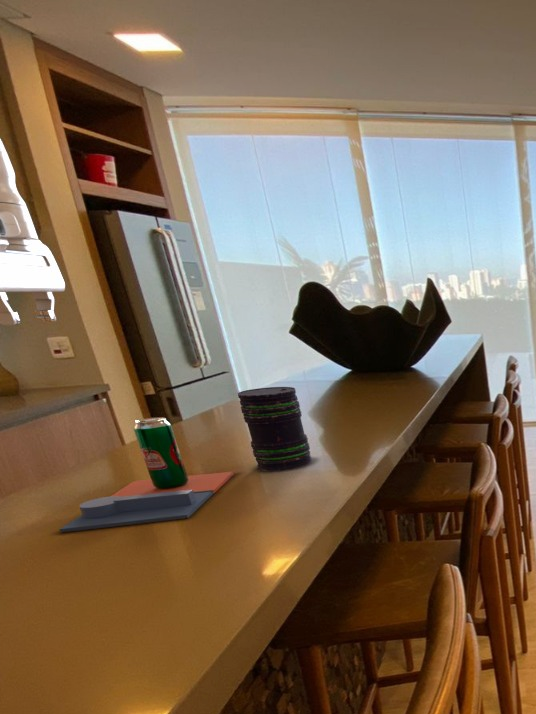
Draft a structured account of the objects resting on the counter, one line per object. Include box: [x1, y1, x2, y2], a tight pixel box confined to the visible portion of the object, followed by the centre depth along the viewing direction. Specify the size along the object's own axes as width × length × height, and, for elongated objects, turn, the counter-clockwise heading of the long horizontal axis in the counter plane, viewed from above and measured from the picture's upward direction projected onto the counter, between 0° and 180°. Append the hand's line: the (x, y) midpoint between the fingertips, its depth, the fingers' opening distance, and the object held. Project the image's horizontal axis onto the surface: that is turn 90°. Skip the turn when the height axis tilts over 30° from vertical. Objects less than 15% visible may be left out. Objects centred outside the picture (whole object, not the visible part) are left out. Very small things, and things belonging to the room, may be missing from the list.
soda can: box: [132, 416, 189, 489], centre depth 100 cm, size 5×5×12 cm
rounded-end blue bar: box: [78, 490, 196, 518], centre depth 91 cm, size 15×5×2 cm, turn 109°
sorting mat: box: [59, 471, 235, 534], centre depth 97 cm, size 16×24×1 cm, turn 19°
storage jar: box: [237, 386, 313, 472], centre depth 113 cm, size 10×10×15 cm
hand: (30, 323), depth 89 cm, fingers open, 8 cm apart
